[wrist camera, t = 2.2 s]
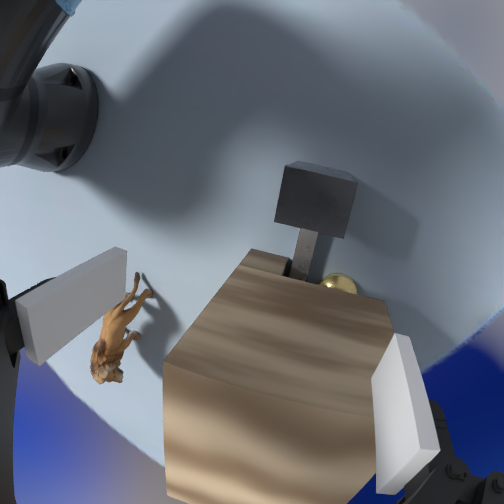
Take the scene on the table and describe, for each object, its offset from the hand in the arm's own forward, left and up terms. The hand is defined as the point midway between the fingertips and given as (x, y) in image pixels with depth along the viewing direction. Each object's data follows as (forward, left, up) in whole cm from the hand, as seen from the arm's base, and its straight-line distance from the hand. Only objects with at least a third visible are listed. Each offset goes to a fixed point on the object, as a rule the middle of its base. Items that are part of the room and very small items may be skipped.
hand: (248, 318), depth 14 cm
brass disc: (+6, +6, -20) cm, 22 cm away
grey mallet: (+5, +2, -20) cm, 20 cm away
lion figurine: (+18, -18, -20) cm, 33 cm away
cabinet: (+13, +3, -20) cm, 24 cm away
